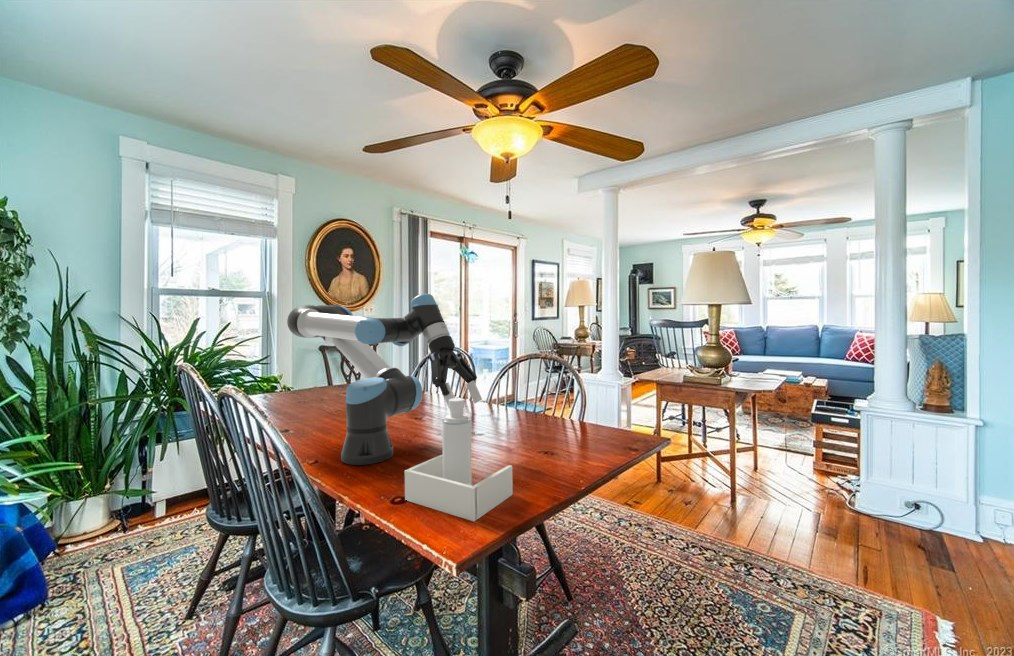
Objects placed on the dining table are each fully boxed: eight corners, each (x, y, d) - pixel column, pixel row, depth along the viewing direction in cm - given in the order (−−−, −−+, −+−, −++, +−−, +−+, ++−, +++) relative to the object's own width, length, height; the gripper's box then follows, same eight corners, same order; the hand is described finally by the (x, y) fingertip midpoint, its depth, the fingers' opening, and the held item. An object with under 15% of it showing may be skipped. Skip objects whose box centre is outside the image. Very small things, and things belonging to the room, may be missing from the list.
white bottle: (473, 492, 104) (472, 390, 103) (470, 504, 97) (469, 395, 96) (445, 492, 104) (444, 390, 103) (440, 504, 97) (439, 395, 96)
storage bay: (405, 500, 100) (404, 470, 100) (447, 478, 113) (447, 451, 113) (474, 521, 89) (473, 488, 89) (512, 494, 102) (512, 465, 102)
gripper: (422, 331, 119) (451, 401, 113) (470, 336, 141) (496, 394, 135) (403, 344, 121) (430, 413, 115) (453, 347, 143) (478, 405, 137)
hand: (466, 403), depth 125 cm, fingers open, 13 cm apart
